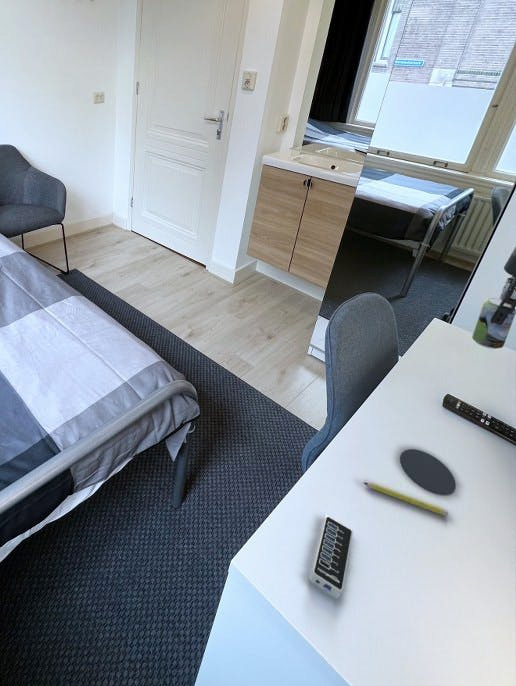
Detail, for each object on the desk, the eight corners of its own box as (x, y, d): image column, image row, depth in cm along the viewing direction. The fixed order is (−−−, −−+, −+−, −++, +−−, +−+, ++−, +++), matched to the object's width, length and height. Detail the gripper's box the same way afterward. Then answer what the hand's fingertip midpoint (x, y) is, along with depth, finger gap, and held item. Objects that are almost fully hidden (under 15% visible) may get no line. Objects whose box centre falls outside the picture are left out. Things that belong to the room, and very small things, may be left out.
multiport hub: (348, 537, 72) (353, 530, 71) (337, 600, 64) (342, 592, 63) (321, 521, 74) (325, 514, 73) (307, 580, 66) (312, 572, 65)
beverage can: (491, 355, 101) (516, 314, 96) (459, 336, 107) (481, 297, 101) (506, 349, 104) (531, 309, 98) (474, 331, 109) (496, 292, 104)
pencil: (361, 481, 81) (363, 478, 81) (444, 512, 77) (447, 509, 77) (362, 486, 81) (364, 483, 80) (445, 517, 76) (448, 514, 76)
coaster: (458, 472, 85) (459, 471, 85) (450, 505, 79) (450, 504, 79) (406, 441, 91) (406, 440, 91) (394, 469, 84) (395, 468, 84)
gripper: (555, 274, 87) (513, 337, 95) (557, 254, 96) (519, 313, 104) (510, 260, 92) (473, 322, 100) (516, 242, 101) (482, 299, 109)
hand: (497, 317), depth 102 cm, fingers closed on beverage can, 6 cm apart
